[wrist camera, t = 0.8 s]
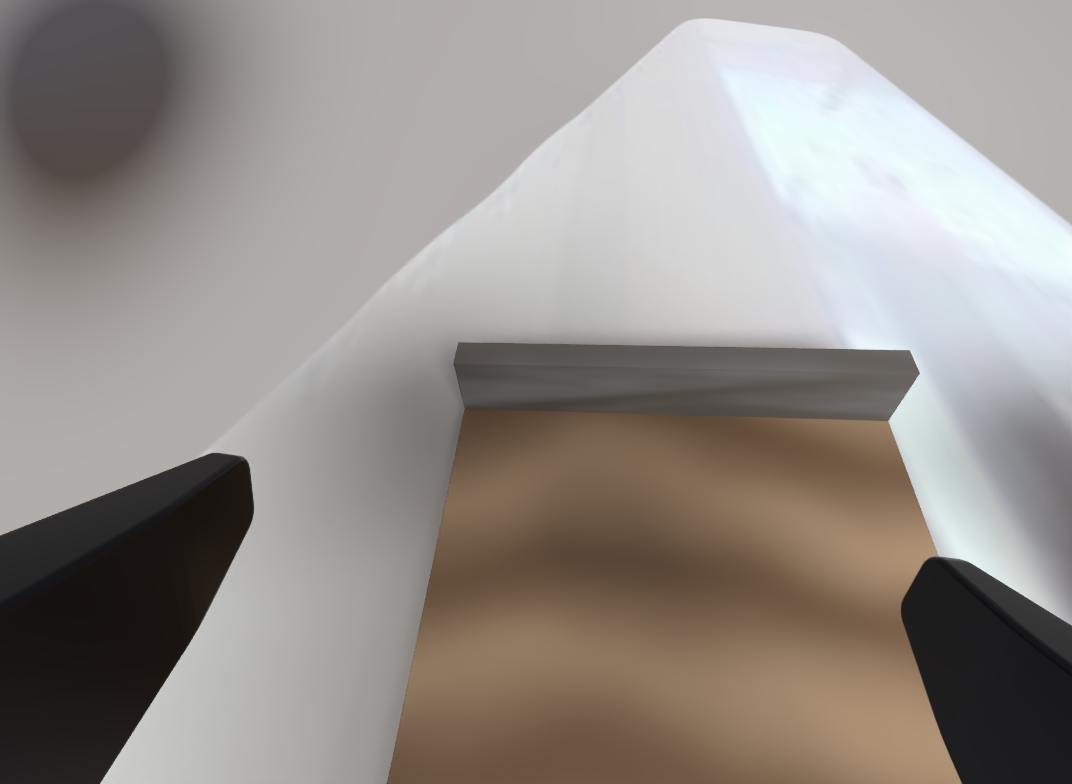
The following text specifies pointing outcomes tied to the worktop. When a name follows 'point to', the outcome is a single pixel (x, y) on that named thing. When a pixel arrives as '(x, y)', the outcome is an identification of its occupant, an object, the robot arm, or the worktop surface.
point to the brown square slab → (673, 574)
